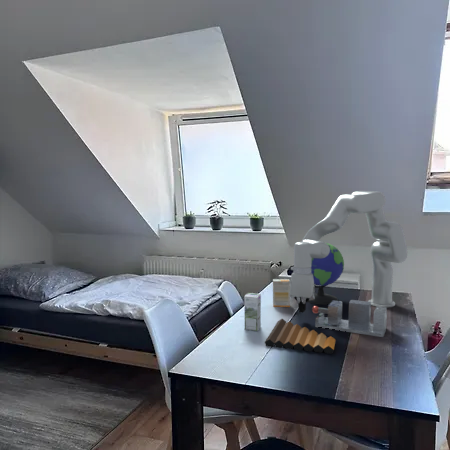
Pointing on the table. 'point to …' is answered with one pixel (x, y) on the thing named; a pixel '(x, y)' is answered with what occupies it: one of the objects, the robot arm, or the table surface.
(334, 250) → the globe
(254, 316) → the syrup box
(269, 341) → the pan flute
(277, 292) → the supplement box
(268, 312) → the table surface
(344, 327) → the vise bed
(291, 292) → the robot arm
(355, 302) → the steel block
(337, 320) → the free jaw
